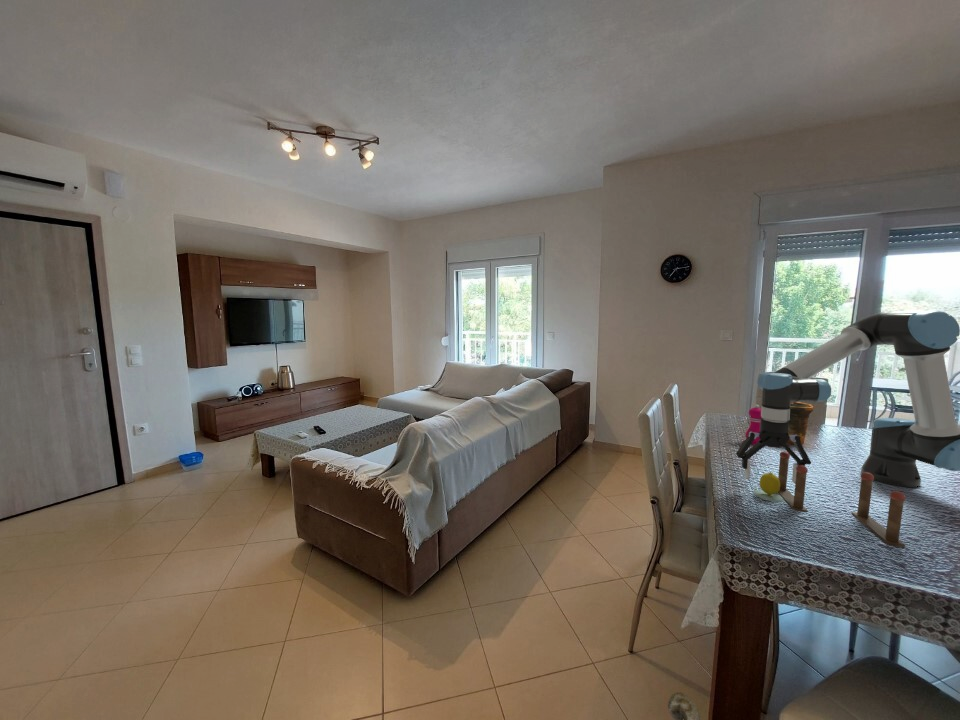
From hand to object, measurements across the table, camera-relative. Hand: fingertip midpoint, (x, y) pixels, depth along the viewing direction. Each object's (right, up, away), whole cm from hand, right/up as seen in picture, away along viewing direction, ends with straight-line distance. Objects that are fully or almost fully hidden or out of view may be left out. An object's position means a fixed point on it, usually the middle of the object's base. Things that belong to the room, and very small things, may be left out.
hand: (770, 480), depth 127 cm
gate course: (+10, -7, -10) cm, 16 cm away
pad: (0, -6, +1) cm, 6 cm away
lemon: (0, -6, +1) cm, 6 cm away
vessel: (+52, 0, +54) cm, 75 cm away
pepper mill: (+33, 0, +52) cm, 61 cm away
